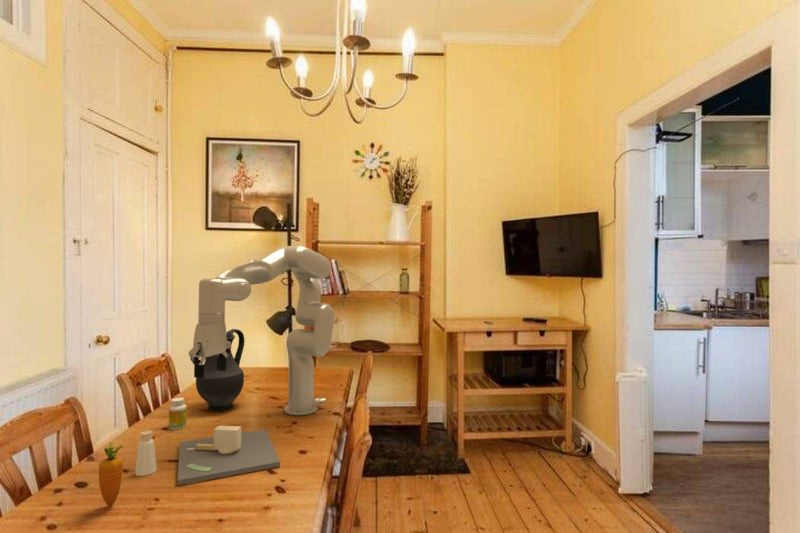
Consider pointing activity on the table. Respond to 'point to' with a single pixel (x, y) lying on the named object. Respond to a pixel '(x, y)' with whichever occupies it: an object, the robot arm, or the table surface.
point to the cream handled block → (224, 440)
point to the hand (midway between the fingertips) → (210, 373)
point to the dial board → (225, 458)
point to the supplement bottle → (177, 414)
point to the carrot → (110, 475)
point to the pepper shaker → (146, 455)
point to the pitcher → (222, 378)
